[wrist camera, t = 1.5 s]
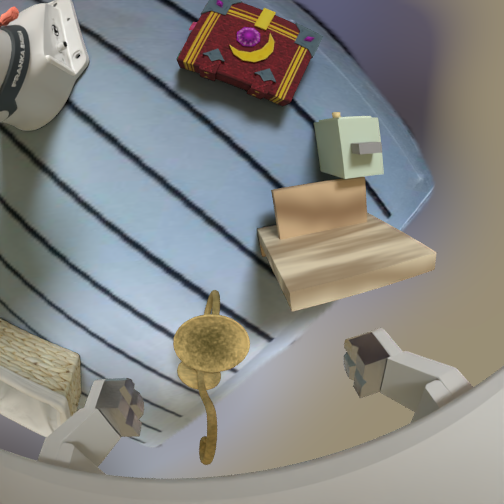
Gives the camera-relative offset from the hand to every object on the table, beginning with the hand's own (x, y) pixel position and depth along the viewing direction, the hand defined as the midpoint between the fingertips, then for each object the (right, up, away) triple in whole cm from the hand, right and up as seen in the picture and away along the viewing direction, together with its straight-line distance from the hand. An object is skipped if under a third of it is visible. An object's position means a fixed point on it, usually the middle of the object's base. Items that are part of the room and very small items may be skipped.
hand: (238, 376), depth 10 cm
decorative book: (-1, +31, +21) cm, 38 cm away
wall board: (+9, +10, +31) cm, 34 cm away
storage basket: (-44, -18, +35) cm, 59 cm away
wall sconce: (-7, -5, +35) cm, 36 cm away
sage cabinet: (+12, +20, +28) cm, 36 cm away
